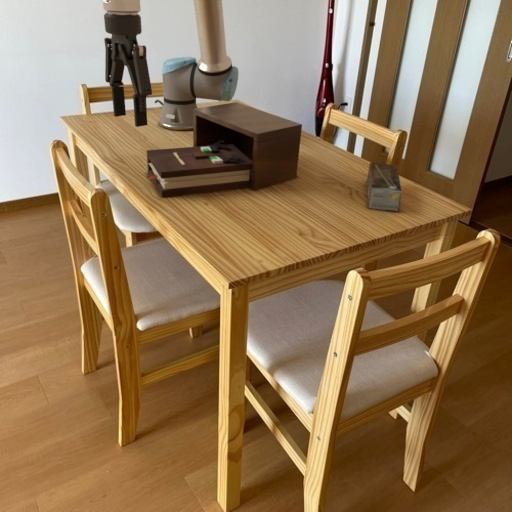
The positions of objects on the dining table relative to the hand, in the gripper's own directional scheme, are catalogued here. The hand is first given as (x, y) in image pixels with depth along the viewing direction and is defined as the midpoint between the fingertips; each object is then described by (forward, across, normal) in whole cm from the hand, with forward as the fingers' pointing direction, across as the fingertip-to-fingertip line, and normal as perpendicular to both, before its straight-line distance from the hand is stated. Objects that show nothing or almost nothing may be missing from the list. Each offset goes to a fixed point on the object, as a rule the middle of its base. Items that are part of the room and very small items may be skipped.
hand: (130, 120), depth 113 cm
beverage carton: (+20, +37, +54) cm, 68 cm away
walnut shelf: (+19, 0, +36) cm, 41 cm away
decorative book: (+20, 0, +20) cm, 28 cm away
